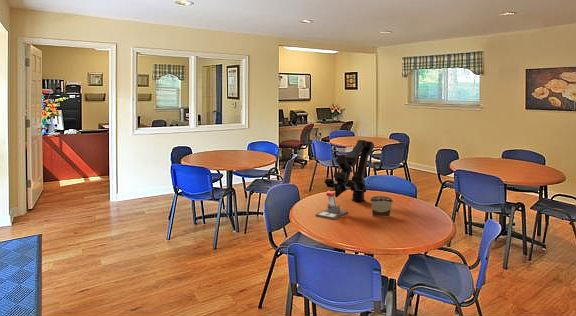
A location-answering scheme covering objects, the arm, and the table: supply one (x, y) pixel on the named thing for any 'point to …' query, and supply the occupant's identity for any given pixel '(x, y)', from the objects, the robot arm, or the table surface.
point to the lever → (331, 199)
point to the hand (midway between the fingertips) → (335, 196)
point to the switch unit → (331, 213)
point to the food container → (381, 205)
